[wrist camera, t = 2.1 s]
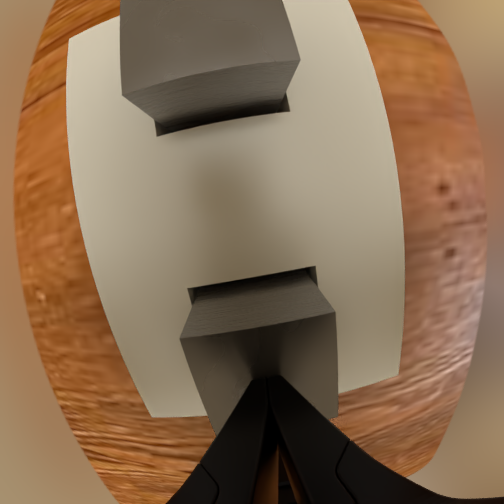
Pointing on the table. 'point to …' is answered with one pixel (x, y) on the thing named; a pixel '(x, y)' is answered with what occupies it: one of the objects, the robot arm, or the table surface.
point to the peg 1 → (205, 59)
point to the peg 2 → (262, 341)
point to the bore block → (241, 203)
